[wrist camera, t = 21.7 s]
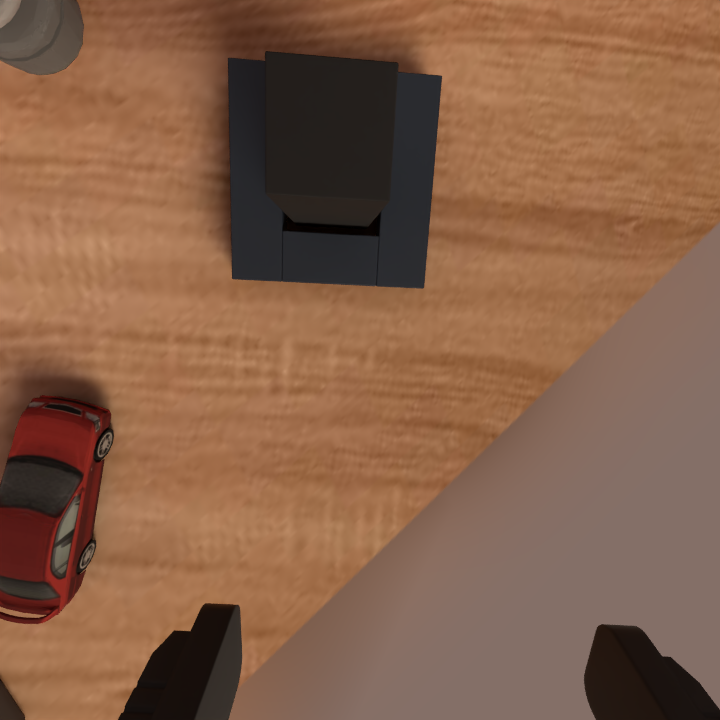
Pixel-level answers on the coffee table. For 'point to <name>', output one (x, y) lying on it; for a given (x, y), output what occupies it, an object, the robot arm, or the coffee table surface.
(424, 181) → the base pad
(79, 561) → the toy car
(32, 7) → the light bulb
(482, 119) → the coffee table surface
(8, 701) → the liquor
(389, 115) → the post
